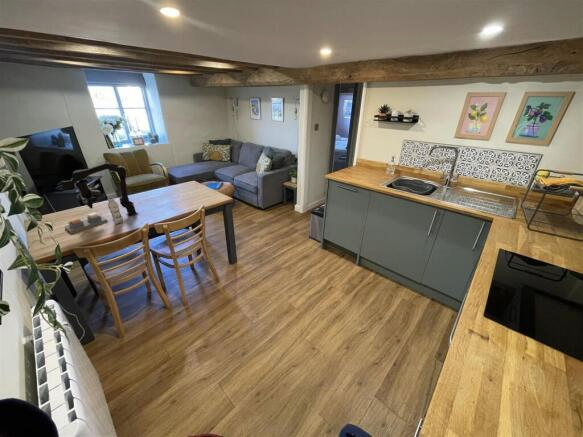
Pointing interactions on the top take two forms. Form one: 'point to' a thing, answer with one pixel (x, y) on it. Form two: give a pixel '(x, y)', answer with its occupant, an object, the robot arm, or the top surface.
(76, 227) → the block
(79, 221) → the orange cube
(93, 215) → the beige cube
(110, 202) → the plastic bottle
